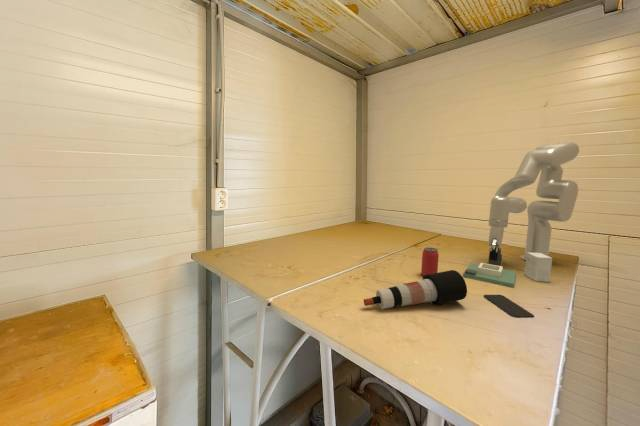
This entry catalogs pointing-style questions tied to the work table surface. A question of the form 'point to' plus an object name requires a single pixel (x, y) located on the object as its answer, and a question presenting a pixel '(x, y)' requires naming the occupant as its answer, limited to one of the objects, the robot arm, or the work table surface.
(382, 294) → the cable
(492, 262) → the plug
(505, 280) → the circuit board
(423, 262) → the beer can
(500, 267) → the header socket
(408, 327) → the work table surface
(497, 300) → the phone
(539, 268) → the small box
